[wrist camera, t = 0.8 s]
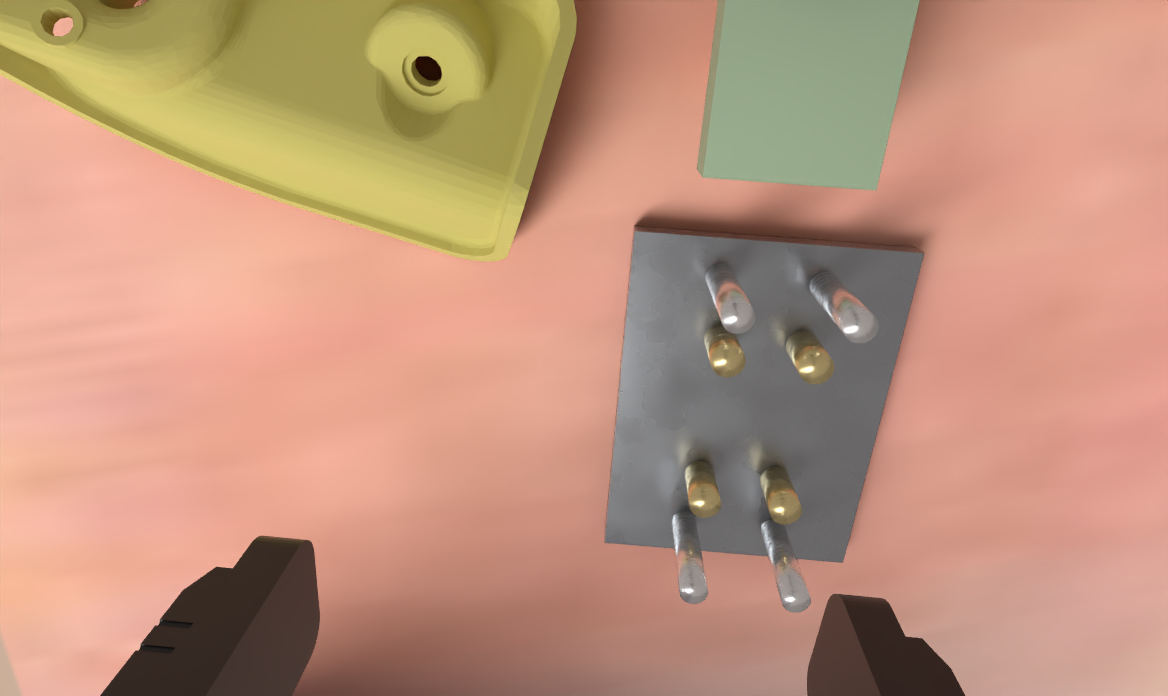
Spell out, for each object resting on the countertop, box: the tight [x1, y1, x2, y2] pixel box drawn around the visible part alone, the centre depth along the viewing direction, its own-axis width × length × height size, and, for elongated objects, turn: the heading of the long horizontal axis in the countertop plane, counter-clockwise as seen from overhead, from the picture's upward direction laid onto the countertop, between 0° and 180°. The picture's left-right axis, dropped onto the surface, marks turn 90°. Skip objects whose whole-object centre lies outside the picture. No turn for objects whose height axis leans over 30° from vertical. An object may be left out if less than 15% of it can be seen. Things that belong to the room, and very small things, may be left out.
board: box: [697, 0, 920, 190], centre depth 23 cm, size 10×6×3 cm, turn 176°
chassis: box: [605, 226, 924, 612], centre depth 30 cm, size 16×12×6 cm
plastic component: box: [0, 0, 577, 261], centre depth 26 cm, size 20×7×10 cm
